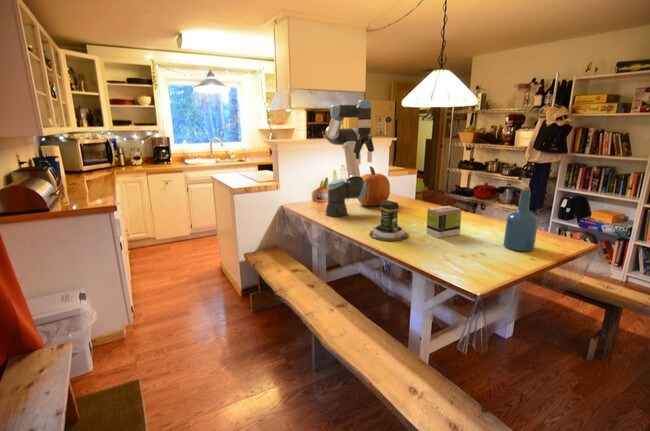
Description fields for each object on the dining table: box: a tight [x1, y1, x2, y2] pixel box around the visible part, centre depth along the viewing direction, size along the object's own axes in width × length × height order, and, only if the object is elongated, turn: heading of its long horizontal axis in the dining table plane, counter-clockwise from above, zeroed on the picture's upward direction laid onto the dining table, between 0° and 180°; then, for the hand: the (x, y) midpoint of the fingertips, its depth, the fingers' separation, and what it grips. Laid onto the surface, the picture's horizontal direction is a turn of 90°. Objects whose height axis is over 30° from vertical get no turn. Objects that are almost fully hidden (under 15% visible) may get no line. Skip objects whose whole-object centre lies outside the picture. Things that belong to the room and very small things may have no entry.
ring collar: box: [368, 224, 409, 242], centre depth 186 cm, size 21×21×4 cm
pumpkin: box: [356, 165, 391, 207], centre depth 254 cm, size 26×23×30 cm
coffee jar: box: [379, 199, 400, 233], centre depth 184 cm, size 10×8×19 cm
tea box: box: [426, 205, 462, 239], centre depth 184 cm, size 15×10×15 cm, turn 111°
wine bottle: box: [503, 185, 539, 252], centre depth 160 cm, size 14×13×30 cm
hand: (364, 163), depth 205 cm, fingers open, 13 cm apart
